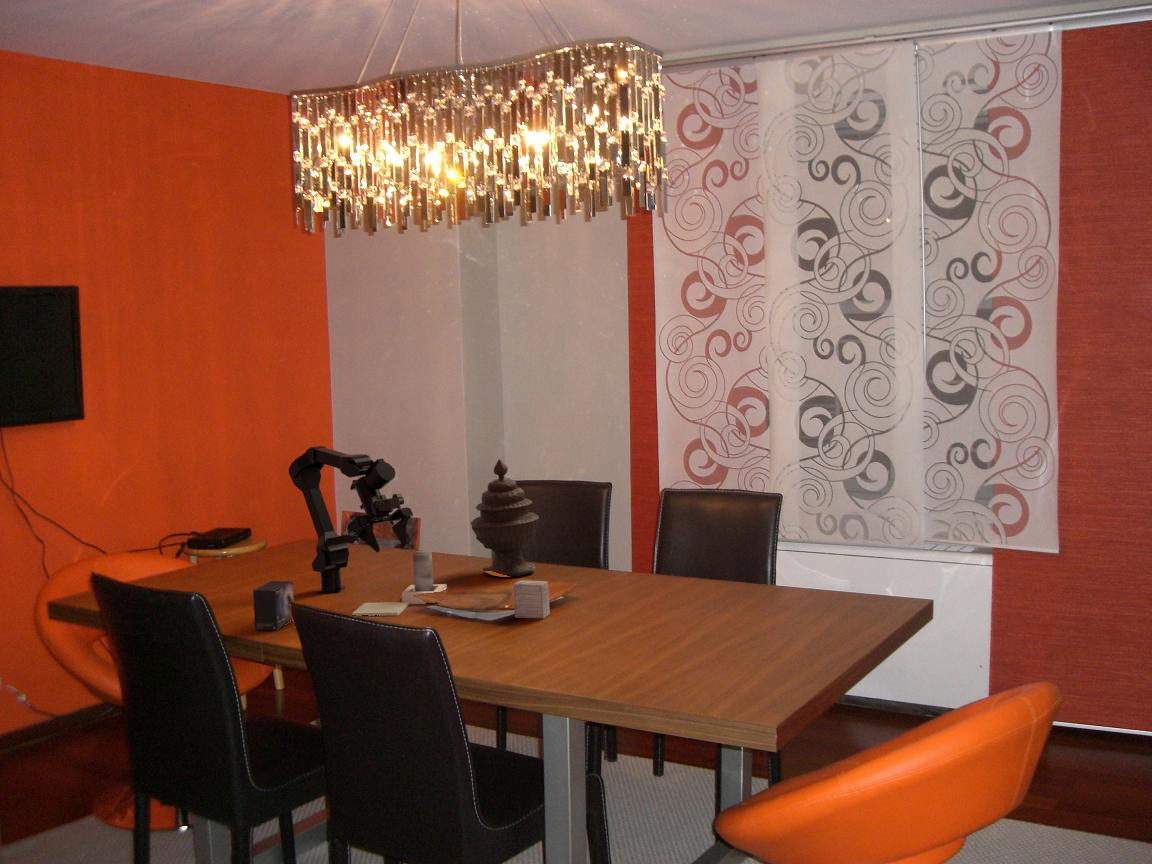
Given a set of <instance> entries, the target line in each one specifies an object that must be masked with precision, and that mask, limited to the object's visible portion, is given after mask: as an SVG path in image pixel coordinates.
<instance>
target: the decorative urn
mask: <svg viewBox="0 0 1152 864" xmlns="http://www.w3.org/2000/svg"><path fill="white" fill-rule="evenodd" d="M508 469H509V468H508V466H507V465H506V464H505V463H504V462H503V461H502V460H501V459H500V458H498V460H497V462H496V464H495V465H494V468H493V473H494V475H496V476H498V477H497V479H494V480H493V481H490V482H489V483H488V484H487V490H485V491H483V492H482V494H481V502H480V503H478V504H477V505H476V506H475V509H476V510H477V511H479V514H480V515H479V516H477V517H476V518H474V519H473V520H471V521H470V525H471V529H472V531H473V533H474V534H475V539H476V540H477V541H479V543H480V544H482V545H483V547H484V548H485V549H487V550H491V551H492V552H494V554H493V558H492V563H491V565H489V566H488V565H487V566H485V567H483V568H482V571H483V572H484V571H493V572H496V573H499V574H503V575H507V576H513V577H512V578H514V577H519V576H525V575H528V574H531V573H532V572H534V571H535V570H536V569H537V566H536V565H535V564H534V563H532V562H531V563H530V562H526V561H525V558H524V555H523V553H522V551H521V550H522V549H524V548H526V547H527V546H529V545H530V542H531V541H532V539H533V538H534V537H535V535H537V530H538V527H539V522H540V521H539V519H540V517H539V515H538V514H536V513H534V512H529V506H530V505H531V504H533V501H532V500H531V499H529V498H526V493H525V491H524V489H522V488H520V487H518V484H517V481H516V480H514V479H511V478H510V477H509V478H508V477H505V476H506V474H507V473H508Z"/></svg>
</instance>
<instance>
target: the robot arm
mask: <svg viewBox="0 0 1152 864" xmlns="http://www.w3.org/2000/svg"><path fill="white" fill-rule="evenodd" d="M325 465H327V466H329V467H332V468H336V469H337V470H339V471H340V473H341V475H344V476H346V477H347V478H355V477H356V478H357V477H358V478H357V479H353V480H352V483H351V485H350V488H349V489H350V490H351V491H355V490H356V493H357V497H359V501H360V503H361V505H359V508H360V510H363V511H364V512H365V514H363V515H360V516H358V515H357V516H355V517H354V518H353V519H351V521H350V522H349V523H347V526H346V529H347V532H348V534H349V535H353V536H354V537H358V538H359V539H360V540H361V541H363V542H364V543H365V544H367V545H368V546H369V547H370V548H371V549H372V550H373V551H375V552H376V553H380V551H381V549H380V546H379V543H378V541H377V537H376V536H375V533H374V526H376V525H380V524H385V523H389V524H390V525H392V526H391V529H392V531H393V532H394V534H395V536H396V537H397V538H398V541H399V543H400V544H401V545H402V547H406V546H407V545H408V544H407V540H408V539H407V524H408V522H409V521H410V520H411V518H412V517H413V516H414V513H413V510H412V509H411V507H408V506H407V507H402V505H405V500H404V499H405V498H404V497H403V494H402V493H401V492H400V493H399V492H398V493H393V494H392V496H391V497H390V498H387V496H386V495H385V494H382V493H381V490H382V489H383V488H385V487H386V486H387V485H388V484H389V483H390V482H391V481H393V480H394V479H395V478H396V469H395V468H394V467H393V466H392V464H390V463H389V462H387V461H385V459H384V458H378V459H377V458H376V460H375V461H374V460H372V458H371V457H370V455H368V454H363V453H361V454H360V453H359V454H356V453H355V454H348V453H344V452H341V451H337V450H335V449H330V448H328V447H326V446H323V445H317V446H310V447H309V448H307V449H306V450H305V452H304V453H302V454H301V455H299V456H298V457H296V458H295V459H294V460H293V461H292V462H291V463H290V466H289V468H288V474H289V476H290V479H291V481H292V483H293V485H294V486H295V487H296V488H297V489H298V490H300V491H301V493H302V495H303V497H304V500H305V504H306V506H307V510H308V512H309V514H310V515H309V516H310V518H311V521H312V524H313V527H314V530H315V532H316V536H317V543H316V547H315V551H316V554H317V555H316V556H315V558H314V559H313V561H312V563H311V566H312V570H313V572H317V573H319V575H320V588H319V589H318V590H317V591H316V592H318V593H319V592H322V593H324V594H326V592H327V593H340V592H341V591H342V590H344V589H346V587H347V586H346V585H342V573H341V572H342V571H341V569H342V568H347V567H348V563H349V562H348V561H349V555H350V551H349V546H348V544H347V541H346V537H345V535H343V534H342V535H339V534H338V533H337V532H336V531H335V529H334V525H333V522H332V520H331V516H330V513H329V511H328V508H327V505H326V502H325V500H324V499H325V498H324V497H323V493H322V490H321V487H320V484H321V479H322V472H321V471H322V470H323V468H324V467H325ZM395 509H396V510H395ZM394 510H395V511H394ZM393 511H394V512H393ZM392 512H393V513H392ZM318 593H317V594H318ZM322 593H321V594H322Z"/></svg>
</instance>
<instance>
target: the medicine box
mask: <svg viewBox="0 0 1152 864" xmlns="http://www.w3.org/2000/svg"><path fill="white" fill-rule="evenodd" d="M512 588H513V601H514V603H513V604H514V617H515V619H516V618H517V619H518V618H520V619H521V618H522V619H523V618H524V619H545V618H547V617H548V616H549V615H550V614H551V610H550V598H549V597H550V595H549V582H548V581H547V580H546V581H544V580H518V581H517V582H515V583H514V584H513V585H512Z"/></svg>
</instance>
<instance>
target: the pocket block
mask: <svg viewBox="0 0 1152 864" xmlns="http://www.w3.org/2000/svg"><path fill="white" fill-rule="evenodd" d="M433 587H434V591H417V592H415V584H410V585H409V586H408V587H407V588H405V590H404V591H403V592H402V593H401V602H408V604H409V605H427V604H426V603H425V602H424V601H423V600H422V599H420V598H417V597H414V596H413V595H418V594H426V593H434V592H441V591H443V590H446V589H447V590H448V587H447V583H443V584H442V583H440V584H439V583H438V584H434V583H433Z"/></svg>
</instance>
